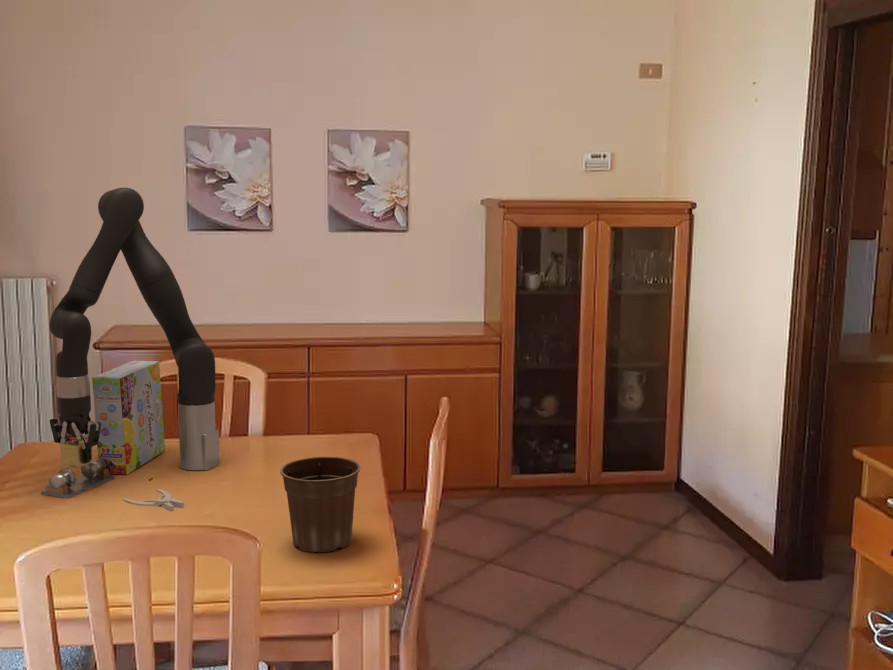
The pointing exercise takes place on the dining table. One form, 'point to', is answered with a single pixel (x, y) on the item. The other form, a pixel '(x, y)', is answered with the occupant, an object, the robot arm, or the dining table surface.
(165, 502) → the pliers
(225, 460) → the dining table surface
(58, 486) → the flanged cylinder mounting plate
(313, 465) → the plant pot
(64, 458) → the push button
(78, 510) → the dining table surface
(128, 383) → the snack box
